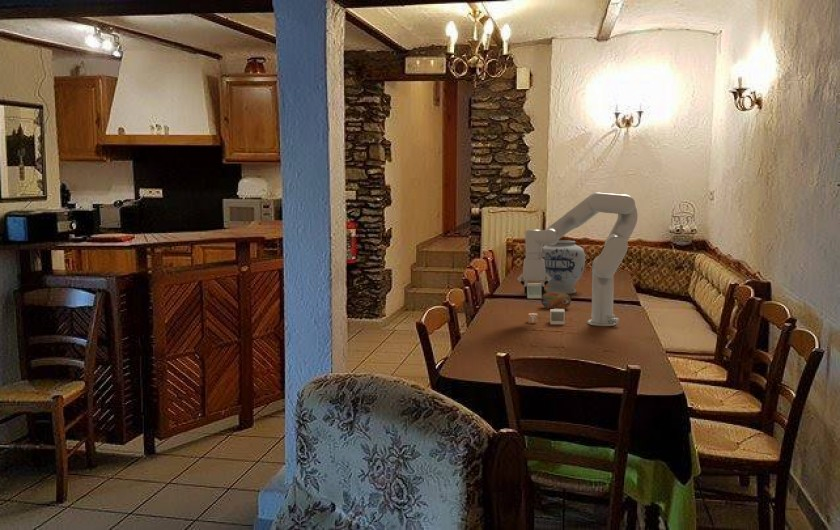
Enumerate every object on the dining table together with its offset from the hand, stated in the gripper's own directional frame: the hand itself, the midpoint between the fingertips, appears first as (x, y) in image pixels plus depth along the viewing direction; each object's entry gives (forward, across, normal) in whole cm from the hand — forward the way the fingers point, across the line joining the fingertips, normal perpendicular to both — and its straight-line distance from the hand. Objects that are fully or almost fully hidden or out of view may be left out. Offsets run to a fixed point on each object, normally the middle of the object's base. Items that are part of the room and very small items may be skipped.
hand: (534, 294), depth 340 cm
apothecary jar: (+14, -13, -93) cm, 95 cm away
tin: (+14, -10, -38) cm, 41 cm away
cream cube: (+13, -10, 0) cm, 17 cm away
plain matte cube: (+1, 0, 0) cm, 1 cm away
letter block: (+13, +1, 0) cm, 13 cm away
